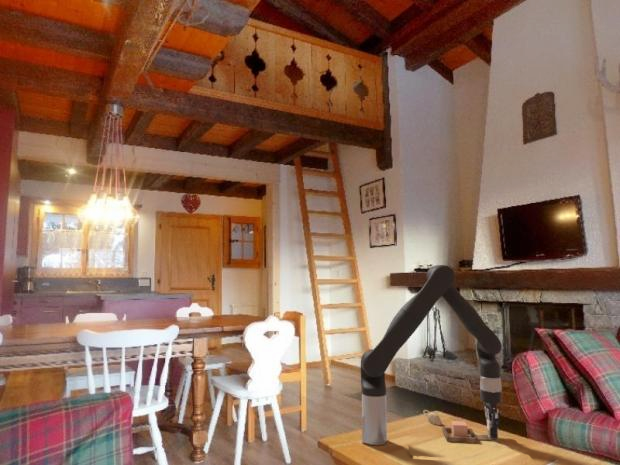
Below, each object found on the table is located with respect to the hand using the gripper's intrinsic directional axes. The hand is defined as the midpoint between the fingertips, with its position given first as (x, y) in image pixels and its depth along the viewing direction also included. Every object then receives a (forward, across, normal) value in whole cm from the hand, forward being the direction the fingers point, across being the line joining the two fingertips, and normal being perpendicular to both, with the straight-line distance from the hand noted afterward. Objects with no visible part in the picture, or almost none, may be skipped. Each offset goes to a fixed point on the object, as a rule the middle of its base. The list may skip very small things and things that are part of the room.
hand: (492, 435), depth 163 cm
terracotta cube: (+1, 0, -12) cm, 12 cm away
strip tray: (+2, 0, -8) cm, 8 cm away
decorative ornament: (+2, -16, -20) cm, 25 cm away
